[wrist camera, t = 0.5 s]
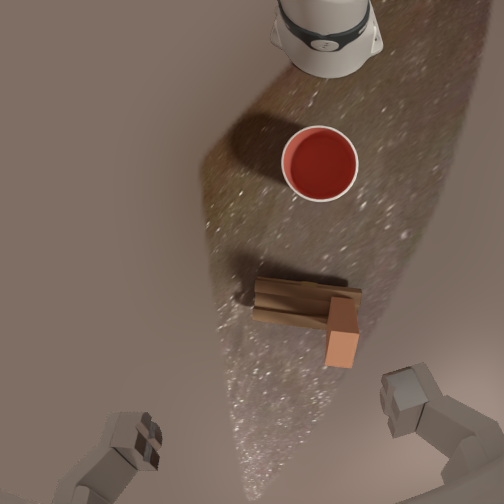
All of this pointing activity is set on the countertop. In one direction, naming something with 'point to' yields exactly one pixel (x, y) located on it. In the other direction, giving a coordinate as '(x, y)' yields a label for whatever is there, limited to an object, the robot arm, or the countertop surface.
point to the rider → (341, 333)
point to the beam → (298, 302)
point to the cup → (319, 163)
